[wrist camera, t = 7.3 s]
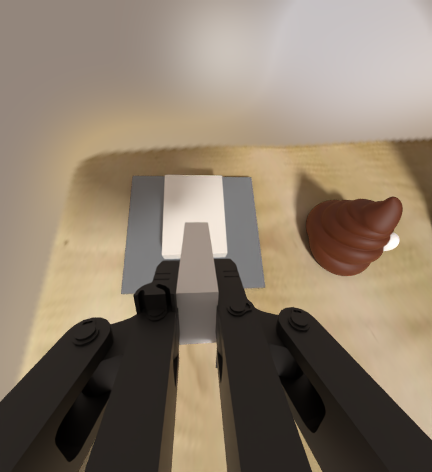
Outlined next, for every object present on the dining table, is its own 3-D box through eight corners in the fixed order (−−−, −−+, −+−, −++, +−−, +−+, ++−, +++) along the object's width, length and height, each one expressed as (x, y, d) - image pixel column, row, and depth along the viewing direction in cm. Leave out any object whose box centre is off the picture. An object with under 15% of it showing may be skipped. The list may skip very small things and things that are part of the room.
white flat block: (224, 257, 24) (219, 185, 27) (227, 253, 22) (221, 175, 25) (164, 259, 23) (167, 185, 26) (161, 255, 21) (164, 174, 24)
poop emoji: (296, 205, 28) (342, 160, 19) (352, 206, 29) (422, 162, 20) (310, 278, 25) (374, 263, 16) (373, 276, 25) (467, 261, 17)
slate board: (250, 179, 28) (251, 177, 28) (263, 287, 24) (265, 287, 23) (134, 178, 27) (132, 175, 26) (123, 294, 22) (121, 294, 21)
